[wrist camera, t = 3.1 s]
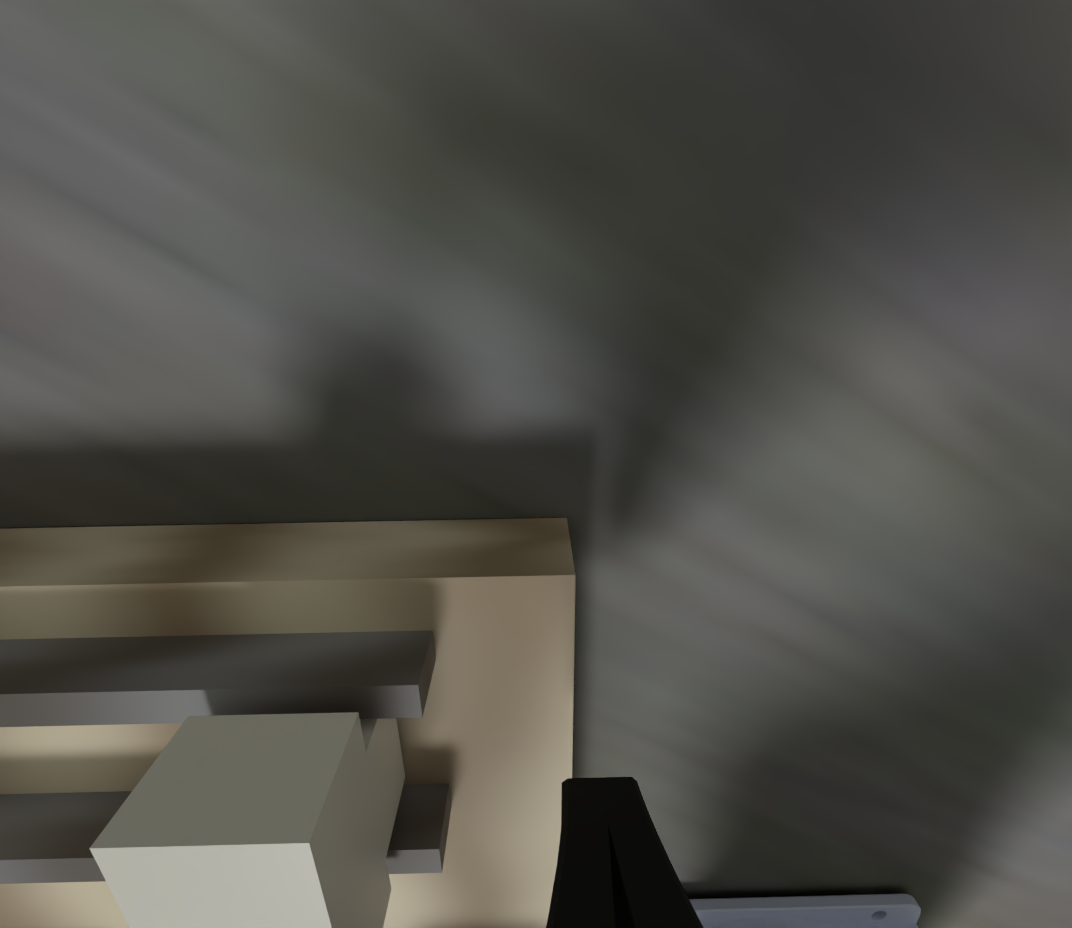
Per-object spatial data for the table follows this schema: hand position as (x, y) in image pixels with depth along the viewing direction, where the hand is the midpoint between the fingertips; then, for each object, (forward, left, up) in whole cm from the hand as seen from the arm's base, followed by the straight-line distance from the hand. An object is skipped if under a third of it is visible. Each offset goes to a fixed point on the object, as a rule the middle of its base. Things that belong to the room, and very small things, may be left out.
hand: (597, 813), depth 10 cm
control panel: (+9, +8, -5) cm, 13 cm away
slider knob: (+6, 0, -2) cm, 6 cm away
